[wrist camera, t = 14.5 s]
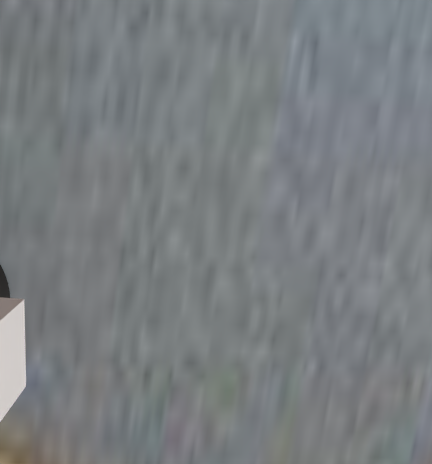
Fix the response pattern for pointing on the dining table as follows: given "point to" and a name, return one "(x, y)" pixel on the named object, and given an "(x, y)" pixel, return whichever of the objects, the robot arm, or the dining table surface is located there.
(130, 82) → the dining table surface
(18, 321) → the robot arm
